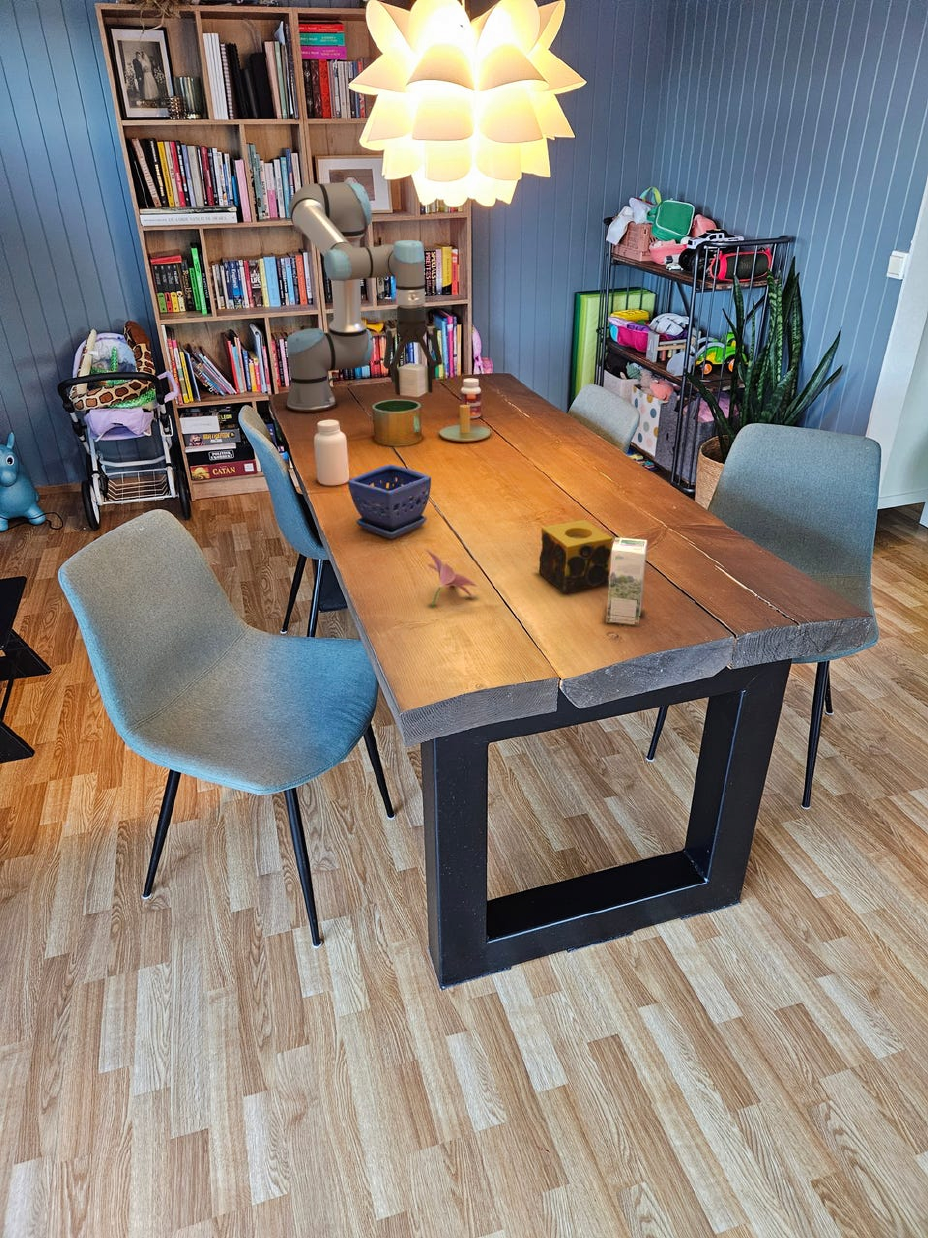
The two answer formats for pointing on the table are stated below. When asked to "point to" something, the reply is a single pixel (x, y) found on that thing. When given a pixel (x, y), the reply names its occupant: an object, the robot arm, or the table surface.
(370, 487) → the flower pot
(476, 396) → the pill bottle
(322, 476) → the pill bottle
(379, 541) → the table surface
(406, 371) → the skincare box
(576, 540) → the candle
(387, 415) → the tin
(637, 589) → the syrup box
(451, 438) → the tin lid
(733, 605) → the table surface
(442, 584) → the lily
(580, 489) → the table surface
